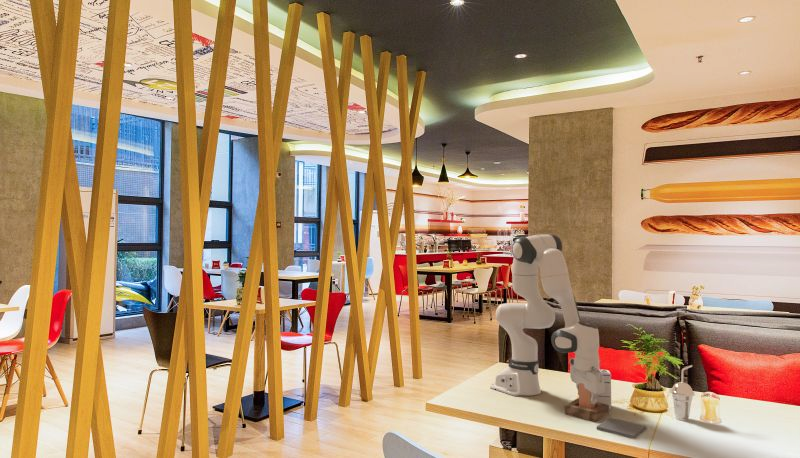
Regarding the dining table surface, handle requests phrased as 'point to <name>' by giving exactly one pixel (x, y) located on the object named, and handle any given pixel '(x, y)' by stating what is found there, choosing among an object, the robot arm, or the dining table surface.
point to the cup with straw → (682, 398)
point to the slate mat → (621, 427)
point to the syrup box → (606, 396)
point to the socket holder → (587, 411)
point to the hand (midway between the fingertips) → (586, 399)
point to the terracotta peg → (585, 397)
